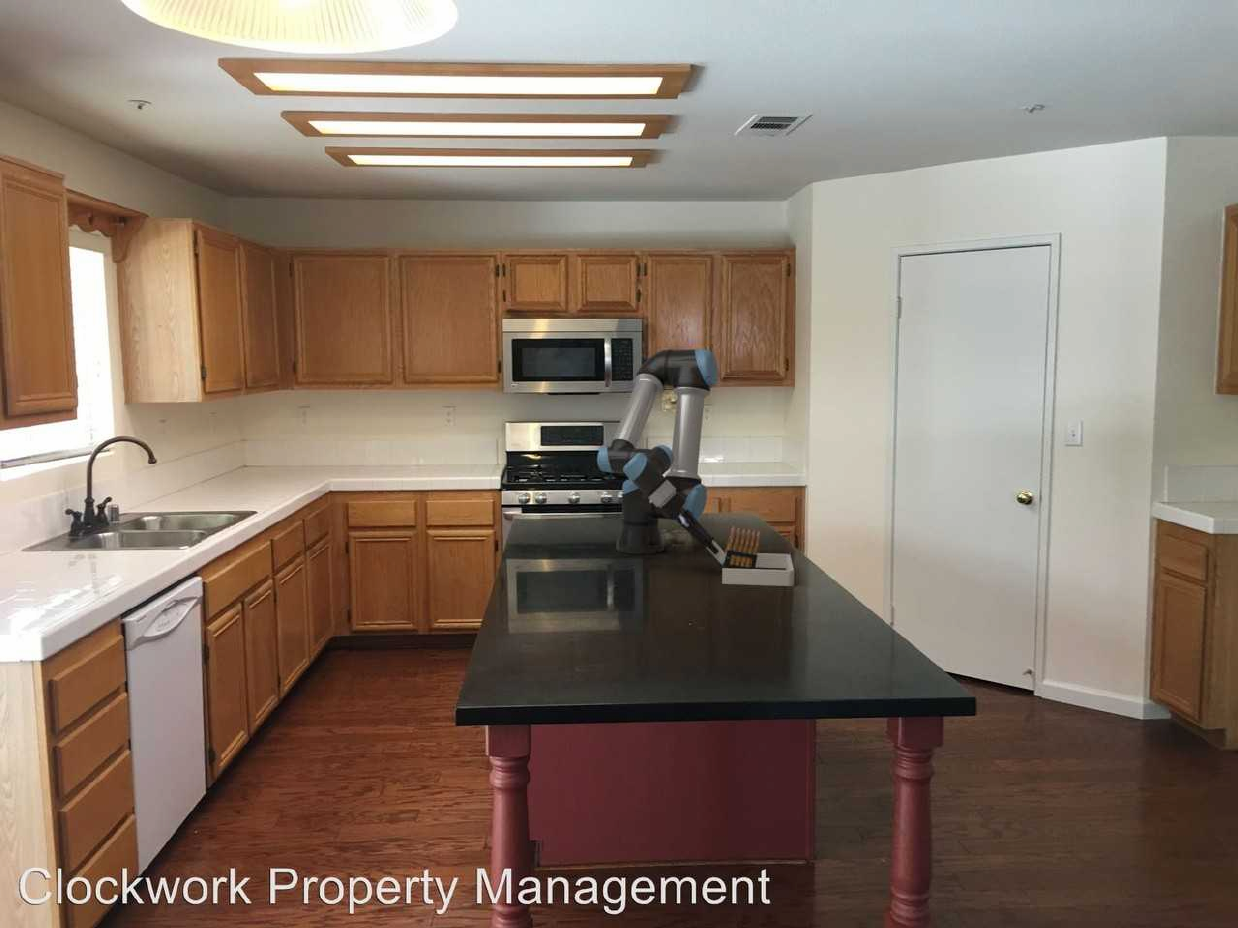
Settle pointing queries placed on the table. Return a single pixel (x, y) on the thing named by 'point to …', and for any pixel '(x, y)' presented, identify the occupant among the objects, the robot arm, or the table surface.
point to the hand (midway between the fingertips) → (725, 560)
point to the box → (763, 572)
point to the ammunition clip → (741, 550)
